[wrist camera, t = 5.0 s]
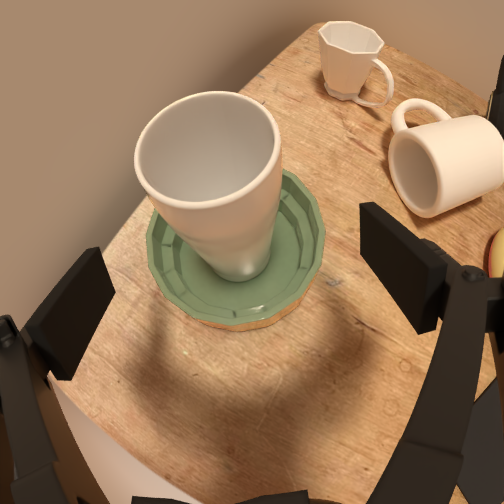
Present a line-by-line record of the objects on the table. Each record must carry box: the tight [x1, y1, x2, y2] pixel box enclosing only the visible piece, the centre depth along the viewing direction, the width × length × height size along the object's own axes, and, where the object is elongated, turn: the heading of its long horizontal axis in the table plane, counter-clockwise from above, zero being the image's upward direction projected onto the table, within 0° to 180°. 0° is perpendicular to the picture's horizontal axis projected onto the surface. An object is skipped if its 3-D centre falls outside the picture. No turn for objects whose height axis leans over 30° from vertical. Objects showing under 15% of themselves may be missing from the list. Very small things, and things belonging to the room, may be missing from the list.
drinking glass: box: [134, 91, 282, 282], centre depth 20 cm, size 7×7×15 cm
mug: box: [388, 98, 504, 218], centre depth 26 cm, size 12×10×8 cm
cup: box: [318, 21, 394, 108], centre depth 30 cm, size 7×10×8 cm
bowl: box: [146, 168, 326, 332], centre depth 26 cm, size 13×13×5 cm
